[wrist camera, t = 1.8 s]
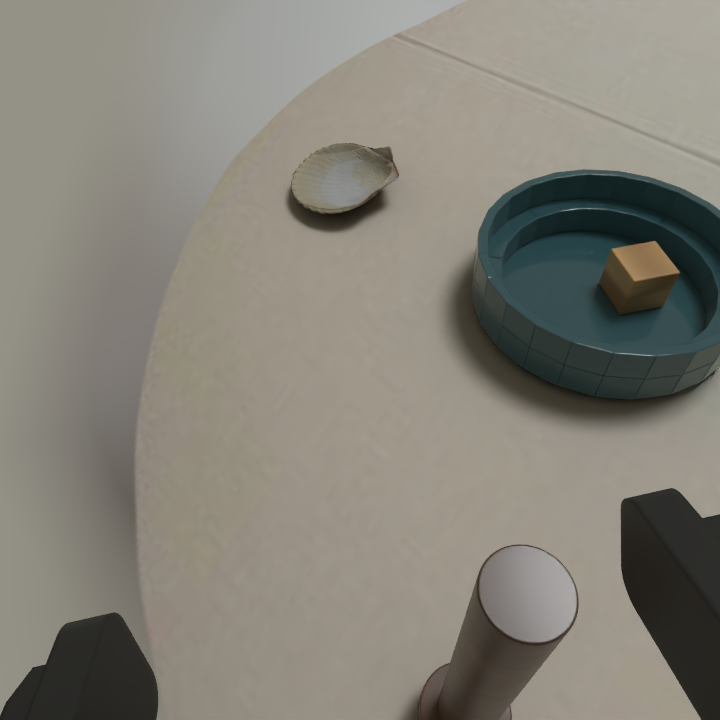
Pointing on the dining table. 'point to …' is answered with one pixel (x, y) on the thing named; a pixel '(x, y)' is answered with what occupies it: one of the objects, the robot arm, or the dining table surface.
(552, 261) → the bowl
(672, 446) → the dining table surface
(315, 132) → the dining table surface
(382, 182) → the seashell
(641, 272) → the block
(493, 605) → the muddler
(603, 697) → the dining table surface
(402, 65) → the dining table surface
